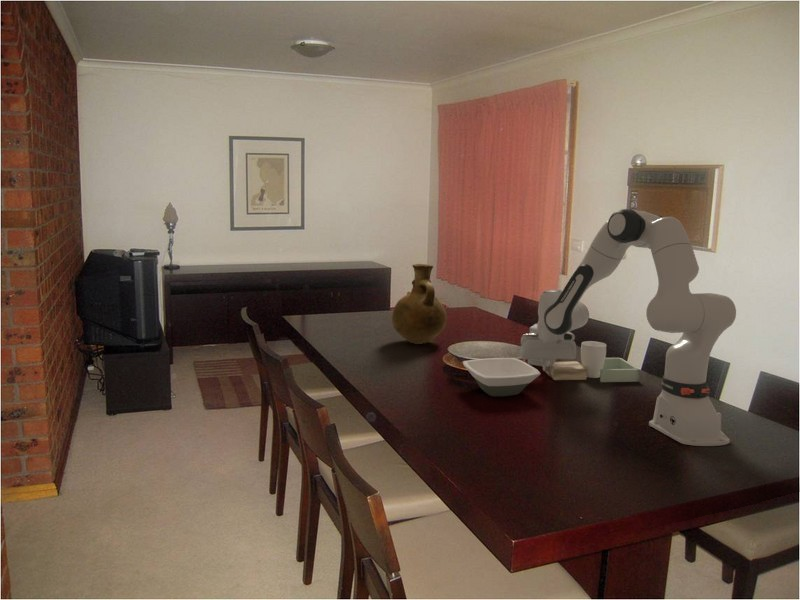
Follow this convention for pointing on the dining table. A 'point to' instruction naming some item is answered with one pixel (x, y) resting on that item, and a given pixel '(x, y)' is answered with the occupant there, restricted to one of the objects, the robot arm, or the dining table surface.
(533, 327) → the supplement box
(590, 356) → the cup
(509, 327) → the dining table surface
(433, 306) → the vase
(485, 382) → the bowl
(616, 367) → the tray
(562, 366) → the board
